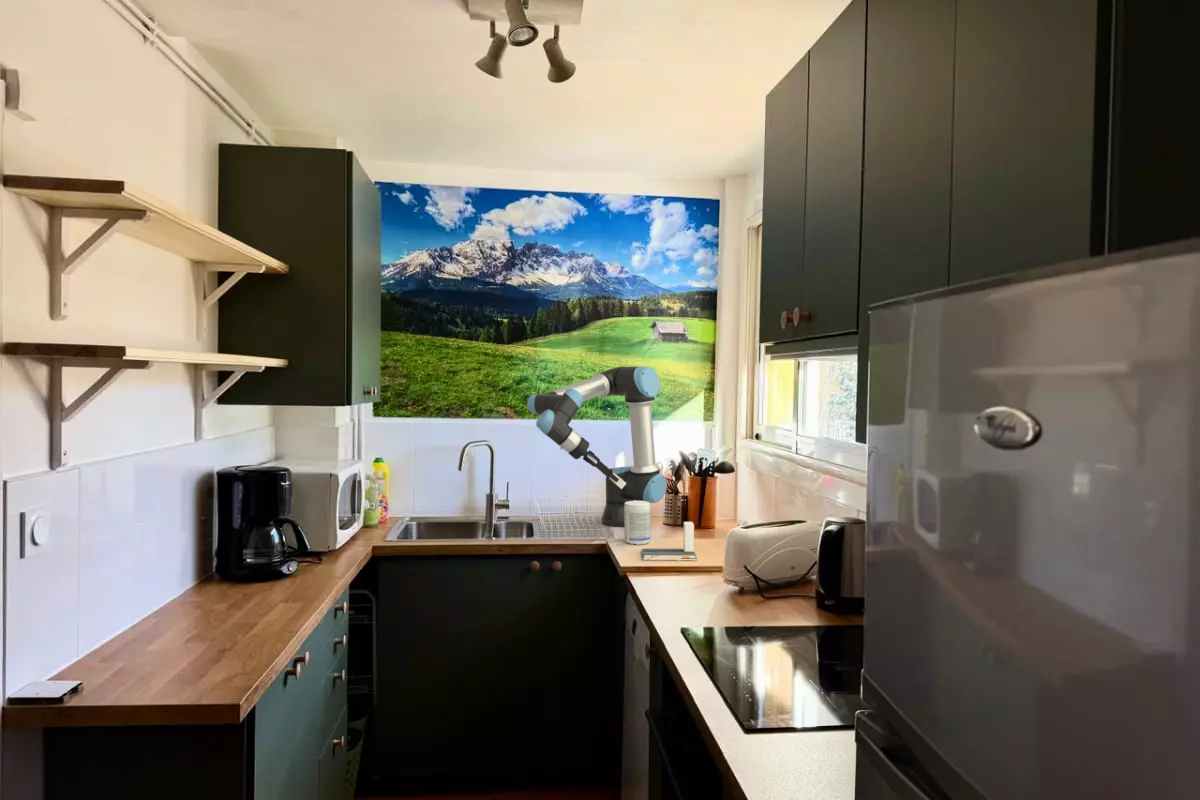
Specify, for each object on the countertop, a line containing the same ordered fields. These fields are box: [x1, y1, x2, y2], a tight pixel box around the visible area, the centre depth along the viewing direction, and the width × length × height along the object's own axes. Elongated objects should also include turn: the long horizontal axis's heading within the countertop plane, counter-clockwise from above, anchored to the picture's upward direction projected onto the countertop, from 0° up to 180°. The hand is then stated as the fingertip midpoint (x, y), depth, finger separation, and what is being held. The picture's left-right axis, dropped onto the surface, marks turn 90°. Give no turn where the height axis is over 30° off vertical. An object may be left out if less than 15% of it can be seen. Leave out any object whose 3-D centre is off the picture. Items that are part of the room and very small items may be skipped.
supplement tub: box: [624, 500, 652, 546], centre depth 268 cm, size 10×10×15 cm
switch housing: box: [641, 547, 698, 560], centre depth 249 cm, size 12×18×2 cm, turn 89°
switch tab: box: [683, 521, 695, 552], centre depth 249 cm, size 5×3×10 cm, turn 179°
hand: (623, 485), depth 260 cm, fingers closed
